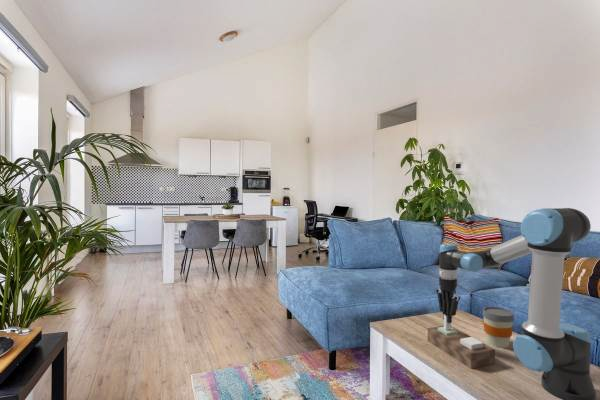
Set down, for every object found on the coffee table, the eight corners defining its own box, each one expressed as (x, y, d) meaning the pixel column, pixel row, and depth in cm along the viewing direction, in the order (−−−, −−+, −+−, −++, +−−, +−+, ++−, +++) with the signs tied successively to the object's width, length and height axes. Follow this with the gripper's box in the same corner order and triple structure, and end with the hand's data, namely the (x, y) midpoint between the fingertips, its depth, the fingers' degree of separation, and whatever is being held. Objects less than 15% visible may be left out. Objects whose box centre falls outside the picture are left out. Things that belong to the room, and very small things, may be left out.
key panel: (494, 363, 138) (494, 349, 137) (471, 368, 134) (471, 353, 134) (448, 337, 162) (448, 325, 162) (427, 340, 159) (427, 328, 159)
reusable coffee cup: (501, 352, 148) (501, 318, 147) (476, 340, 159) (476, 308, 159) (519, 346, 153) (520, 313, 152) (494, 335, 164) (494, 305, 164)
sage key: (457, 342, 153) (457, 331, 153) (446, 344, 151) (446, 332, 151) (448, 336, 159) (448, 326, 158) (437, 338, 157) (437, 327, 157)
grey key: (482, 354, 139) (483, 342, 139) (471, 357, 138) (471, 345, 138) (471, 348, 145) (471, 336, 145) (460, 350, 143) (460, 338, 143)
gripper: (431, 274, 159) (430, 324, 160) (451, 282, 147) (450, 335, 147) (444, 273, 161) (444, 322, 162) (465, 280, 149) (464, 333, 150)
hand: (447, 328), depth 155 cm, fingers closed
